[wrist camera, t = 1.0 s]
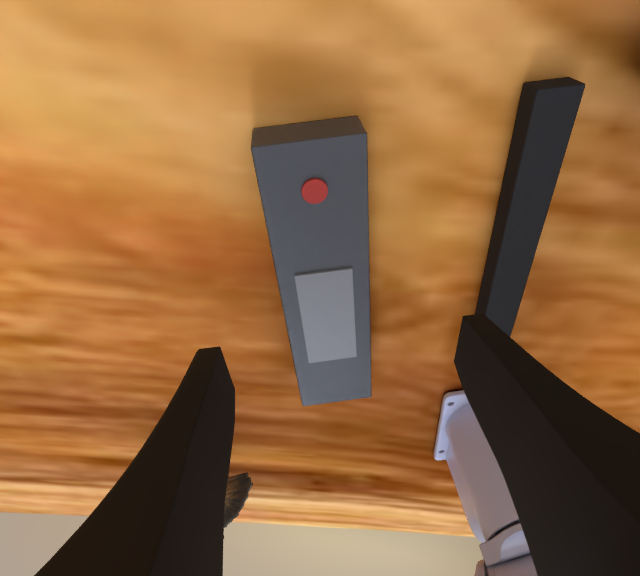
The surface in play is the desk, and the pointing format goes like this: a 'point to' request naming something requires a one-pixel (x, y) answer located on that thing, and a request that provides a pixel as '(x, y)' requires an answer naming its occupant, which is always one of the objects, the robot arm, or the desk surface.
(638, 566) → the robot arm
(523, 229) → the strip
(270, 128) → the remote
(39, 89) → the desk surface
